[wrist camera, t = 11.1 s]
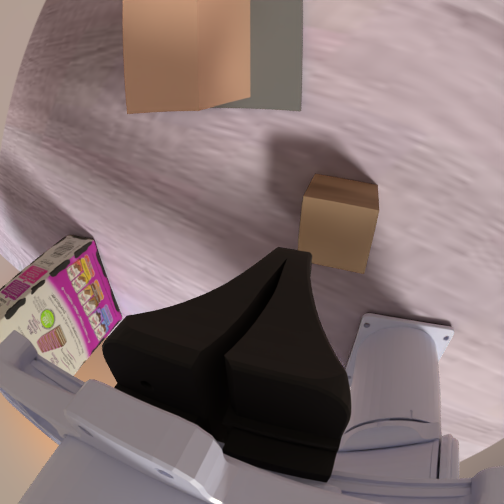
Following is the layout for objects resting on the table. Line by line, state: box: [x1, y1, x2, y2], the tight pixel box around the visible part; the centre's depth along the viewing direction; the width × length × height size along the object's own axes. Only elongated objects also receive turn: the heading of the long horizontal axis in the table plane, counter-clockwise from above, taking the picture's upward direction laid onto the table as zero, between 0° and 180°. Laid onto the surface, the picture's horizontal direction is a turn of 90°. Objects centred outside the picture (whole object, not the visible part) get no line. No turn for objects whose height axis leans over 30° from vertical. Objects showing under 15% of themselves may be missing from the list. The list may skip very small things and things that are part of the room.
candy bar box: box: [0, 235, 122, 376], centre depth 27 cm, size 11×5×16 cm, turn 4°
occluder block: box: [123, 0, 250, 114], centre depth 13 cm, size 10×4×6 cm, turn 0°
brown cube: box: [298, 174, 379, 274], centre depth 19 cm, size 4×4×4 cm
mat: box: [210, 0, 303, 111], centre depth 16 cm, size 12×10×1 cm
